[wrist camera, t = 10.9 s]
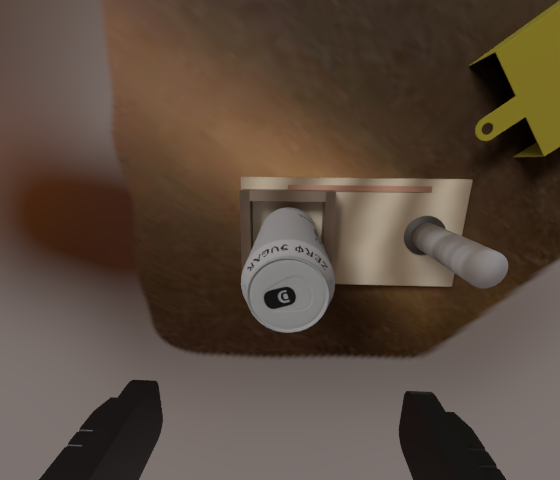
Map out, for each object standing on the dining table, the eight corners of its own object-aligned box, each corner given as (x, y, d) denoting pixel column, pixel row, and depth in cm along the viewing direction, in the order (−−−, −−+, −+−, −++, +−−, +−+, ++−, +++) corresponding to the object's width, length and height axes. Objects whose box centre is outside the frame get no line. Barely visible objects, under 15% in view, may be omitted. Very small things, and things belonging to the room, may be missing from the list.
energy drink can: (321, 250, 31) (350, 328, 16) (270, 264, 32) (254, 351, 17) (307, 199, 29) (325, 234, 15) (254, 214, 30) (221, 262, 16)
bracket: (461, 39, 20) (686, -128, 17) (415, 72, 27) (566, -40, 25) (545, 211, 23) (747, 94, 20) (483, 199, 31) (624, 112, 28)
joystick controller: (465, 179, 30) (565, 189, 19) (446, 282, 33) (522, 341, 22) (242, 176, 30) (216, 184, 20) (245, 277, 34) (224, 332, 23)
